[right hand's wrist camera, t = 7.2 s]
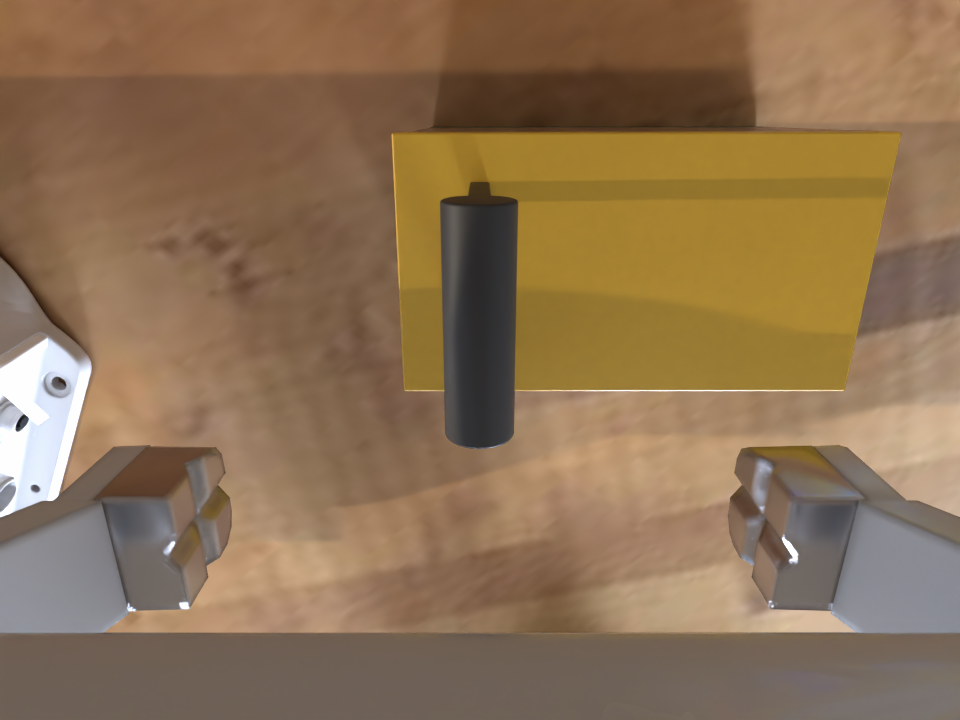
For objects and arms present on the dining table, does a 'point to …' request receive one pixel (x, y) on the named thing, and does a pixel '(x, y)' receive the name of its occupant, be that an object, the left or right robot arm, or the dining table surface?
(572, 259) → the lid
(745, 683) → the right robot arm
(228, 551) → the dining table surface
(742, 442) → the dining table surface
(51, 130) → the dining table surface
